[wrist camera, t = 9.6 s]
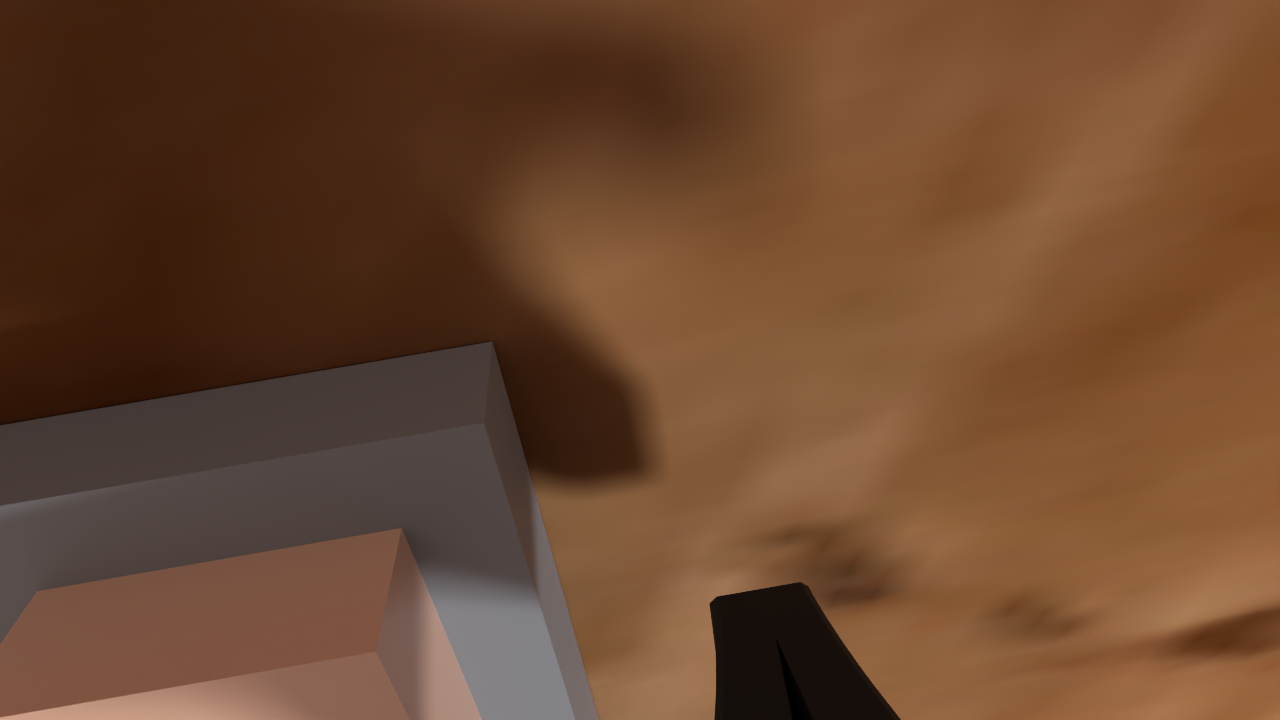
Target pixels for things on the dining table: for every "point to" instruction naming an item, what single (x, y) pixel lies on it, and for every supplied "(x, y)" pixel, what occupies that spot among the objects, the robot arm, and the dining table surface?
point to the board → (312, 503)
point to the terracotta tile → (241, 642)
